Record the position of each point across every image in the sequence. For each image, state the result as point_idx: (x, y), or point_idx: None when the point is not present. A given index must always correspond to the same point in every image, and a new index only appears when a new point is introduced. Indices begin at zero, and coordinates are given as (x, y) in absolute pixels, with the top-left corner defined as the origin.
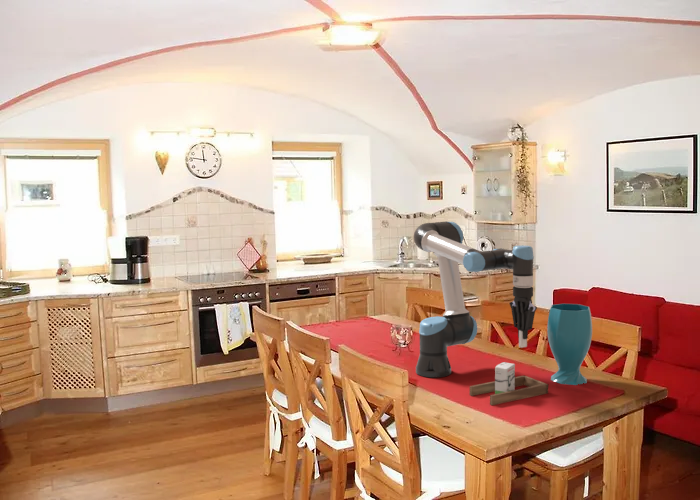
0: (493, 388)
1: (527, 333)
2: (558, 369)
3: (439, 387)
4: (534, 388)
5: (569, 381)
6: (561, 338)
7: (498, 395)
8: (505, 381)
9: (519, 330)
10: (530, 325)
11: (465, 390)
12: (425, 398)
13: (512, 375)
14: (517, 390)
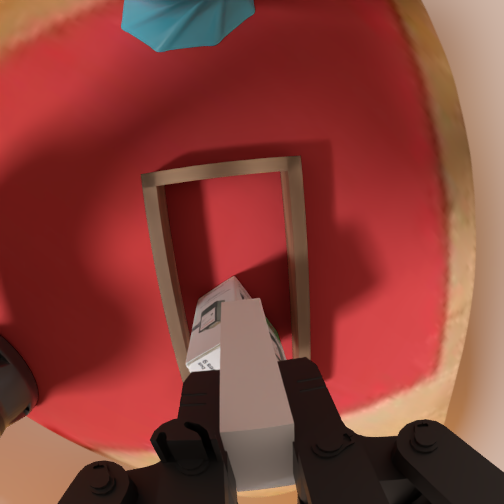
0: (187, 336)
1: (333, 405)
2: (153, 4)
3: (113, 425)
4: (305, 234)
5: (230, 15)
6: None
7: None
8: None
9: (249, 489)
10: (467, 487)
11: (152, 393)
12: None
13: None
14: (307, 319)
